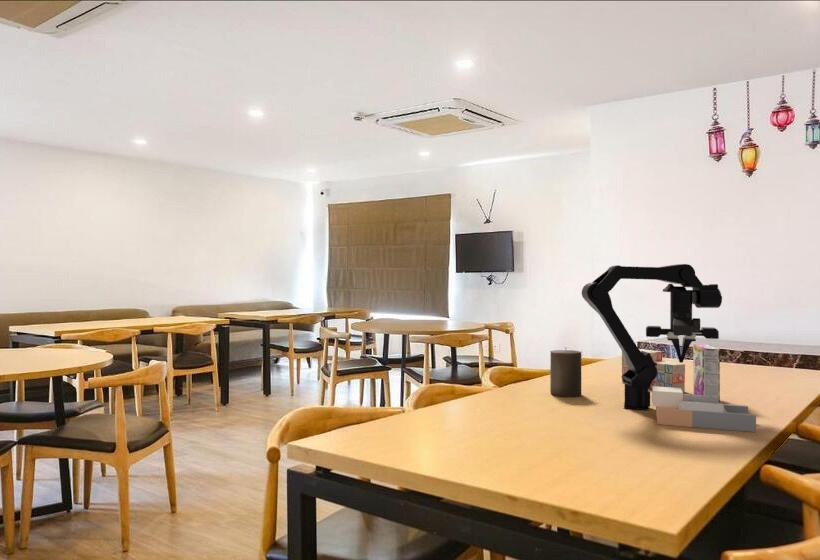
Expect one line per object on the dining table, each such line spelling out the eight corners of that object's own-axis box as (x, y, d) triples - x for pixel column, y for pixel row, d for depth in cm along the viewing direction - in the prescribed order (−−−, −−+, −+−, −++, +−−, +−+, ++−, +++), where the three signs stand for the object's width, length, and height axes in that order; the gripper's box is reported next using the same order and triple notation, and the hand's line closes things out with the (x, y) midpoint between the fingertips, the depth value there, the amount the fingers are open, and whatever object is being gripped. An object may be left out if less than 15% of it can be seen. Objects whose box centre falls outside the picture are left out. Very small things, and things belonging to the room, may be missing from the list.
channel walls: (679, 409, 151) (679, 401, 151) (675, 400, 162) (676, 393, 162) (723, 412, 147) (723, 404, 147) (717, 403, 158) (717, 396, 158)
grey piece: (657, 424, 152) (657, 408, 152) (655, 414, 164) (655, 399, 164) (756, 432, 145) (756, 415, 145) (747, 420, 156) (747, 405, 156)
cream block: (653, 406, 155) (653, 390, 155) (652, 401, 162) (652, 386, 162) (682, 408, 153) (682, 392, 153) (680, 402, 159) (680, 387, 159)
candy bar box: (692, 396, 188) (692, 344, 188) (709, 397, 187) (709, 344, 187) (702, 403, 177) (702, 348, 177) (720, 404, 176) (720, 348, 176)
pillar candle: (582, 397, 186) (583, 349, 186) (550, 396, 187) (551, 348, 188) (579, 392, 195) (580, 346, 195) (549, 390, 197) (549, 345, 197)
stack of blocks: (685, 392, 195) (685, 354, 195) (672, 393, 192) (672, 355, 192) (634, 381, 214) (634, 347, 214) (621, 383, 212) (621, 348, 211)
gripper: (646, 308, 167) (646, 364, 167) (721, 310, 161) (721, 368, 161) (645, 306, 177) (645, 359, 178) (716, 308, 171) (715, 362, 171)
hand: (681, 362), depth 171 cm, fingers closed
